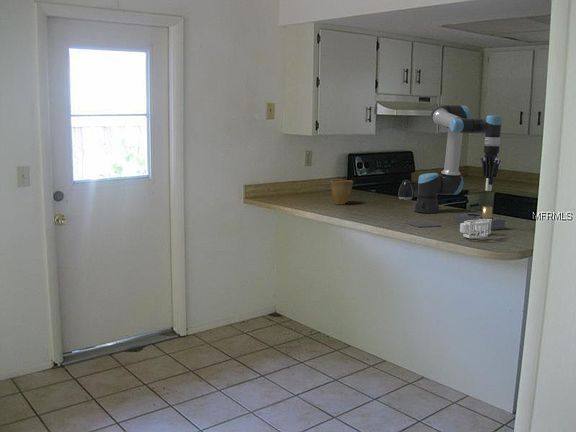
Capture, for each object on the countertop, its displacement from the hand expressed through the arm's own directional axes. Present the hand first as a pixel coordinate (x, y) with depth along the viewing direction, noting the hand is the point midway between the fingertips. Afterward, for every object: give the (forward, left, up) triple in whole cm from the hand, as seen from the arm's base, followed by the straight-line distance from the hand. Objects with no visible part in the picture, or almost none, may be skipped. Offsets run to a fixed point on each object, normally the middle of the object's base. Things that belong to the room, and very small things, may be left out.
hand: (488, 190), depth 315 cm
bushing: (0, 0, -20) cm, 20 cm away
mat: (-15, -29, -20) cm, 38 cm away
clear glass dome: (-105, +14, -20) cm, 108 cm away
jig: (-5, 0, -20) cm, 20 cm away
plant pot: (-100, -38, -20) cm, 109 cm away
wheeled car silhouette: (+18, -19, -20) cm, 33 cm away
